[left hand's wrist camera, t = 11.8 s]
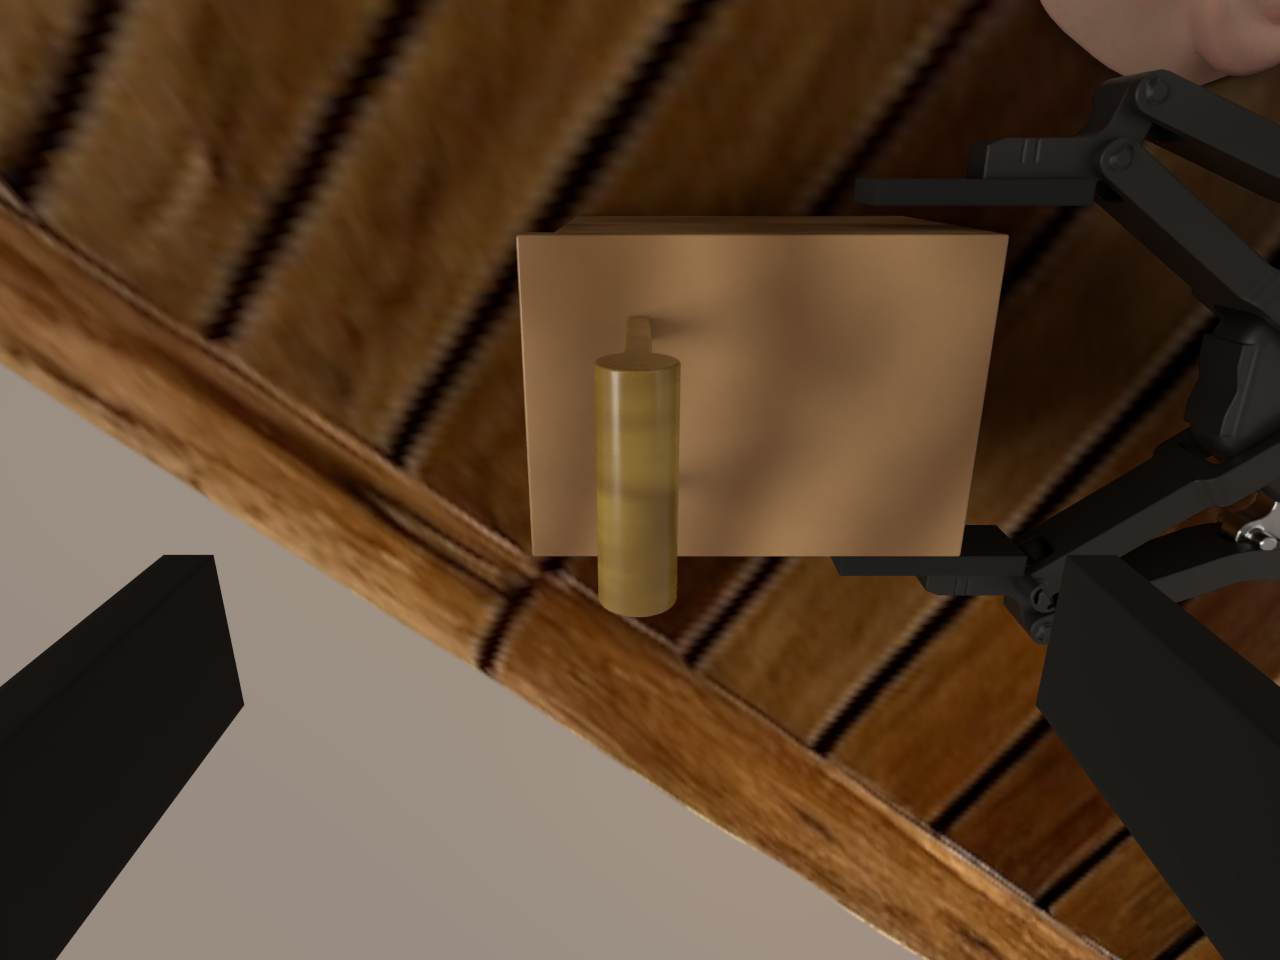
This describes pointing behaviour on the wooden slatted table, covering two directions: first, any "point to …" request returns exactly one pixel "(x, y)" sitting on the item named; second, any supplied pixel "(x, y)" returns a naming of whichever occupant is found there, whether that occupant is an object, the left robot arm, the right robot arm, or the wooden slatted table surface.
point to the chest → (759, 224)
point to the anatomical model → (1175, 35)
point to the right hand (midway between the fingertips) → (846, 384)
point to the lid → (751, 396)
